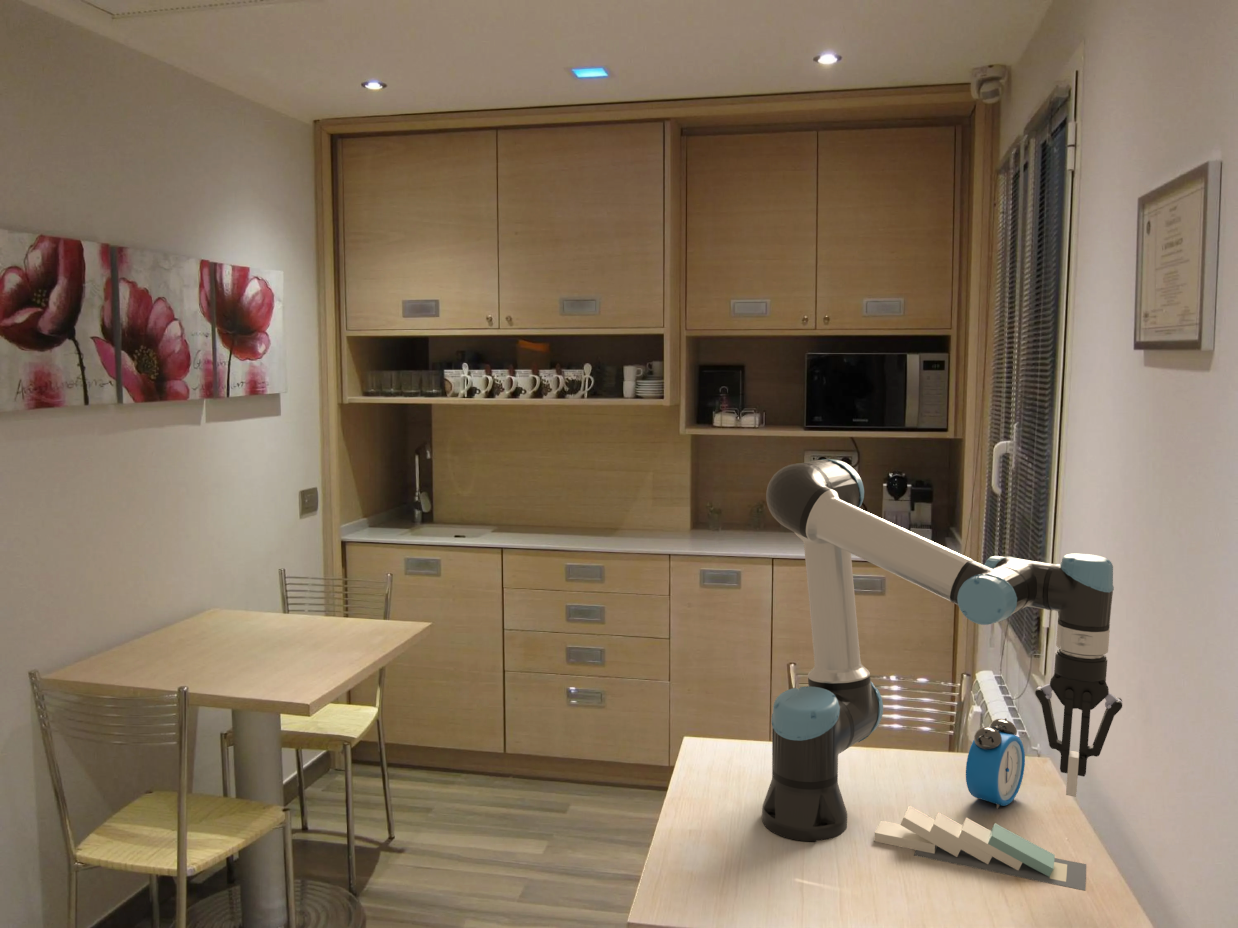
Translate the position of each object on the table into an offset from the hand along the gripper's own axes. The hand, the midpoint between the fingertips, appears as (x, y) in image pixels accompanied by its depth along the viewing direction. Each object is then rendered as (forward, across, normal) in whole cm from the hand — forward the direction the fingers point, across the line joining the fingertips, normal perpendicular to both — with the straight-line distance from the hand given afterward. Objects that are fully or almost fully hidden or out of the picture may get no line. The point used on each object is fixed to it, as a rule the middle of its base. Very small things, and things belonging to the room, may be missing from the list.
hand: (1071, 792), depth 158 cm
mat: (+13, -10, -3) cm, 17 cm away
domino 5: (+12, -2, -3) cm, 12 cm away
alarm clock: (+14, -13, +21) cm, 28 cm away
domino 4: (+12, -7, -3) cm, 14 cm away
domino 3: (+12, -11, -3) cm, 17 cm away
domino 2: (+12, -16, -3) cm, 20 cm away
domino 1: (+12, -20, -3) cm, 24 cm away
